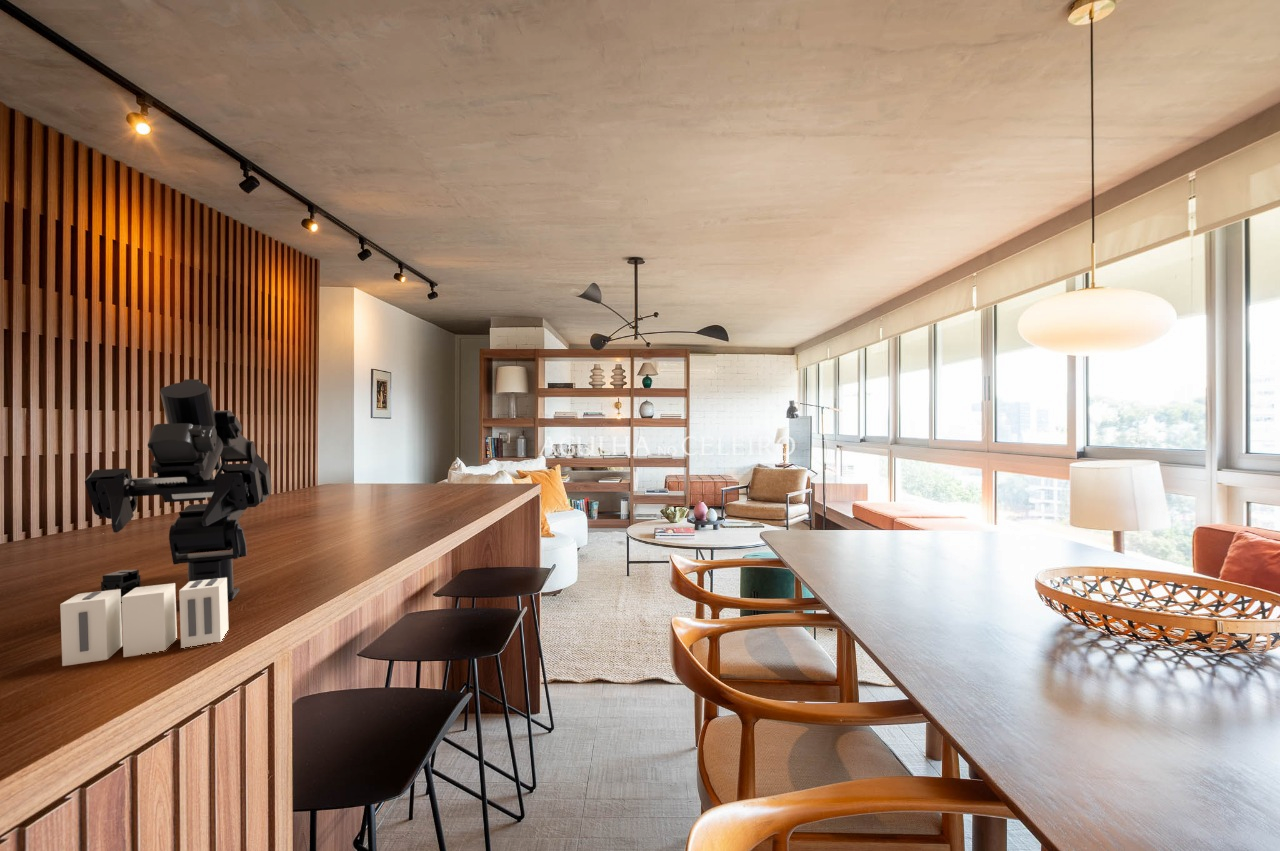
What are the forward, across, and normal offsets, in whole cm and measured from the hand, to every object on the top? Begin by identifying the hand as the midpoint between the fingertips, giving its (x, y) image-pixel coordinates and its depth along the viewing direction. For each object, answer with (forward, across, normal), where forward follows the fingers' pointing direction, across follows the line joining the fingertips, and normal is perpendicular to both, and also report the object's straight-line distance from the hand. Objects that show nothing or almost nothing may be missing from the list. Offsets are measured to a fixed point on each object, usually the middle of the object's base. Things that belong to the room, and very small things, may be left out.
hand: (160, 526), depth 77 cm
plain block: (+8, -1, +12) cm, 14 cm away
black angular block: (-18, -14, +27) cm, 36 cm away
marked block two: (+8, +5, +12) cm, 15 cm away
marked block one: (+9, -6, +12) cm, 16 cm away
